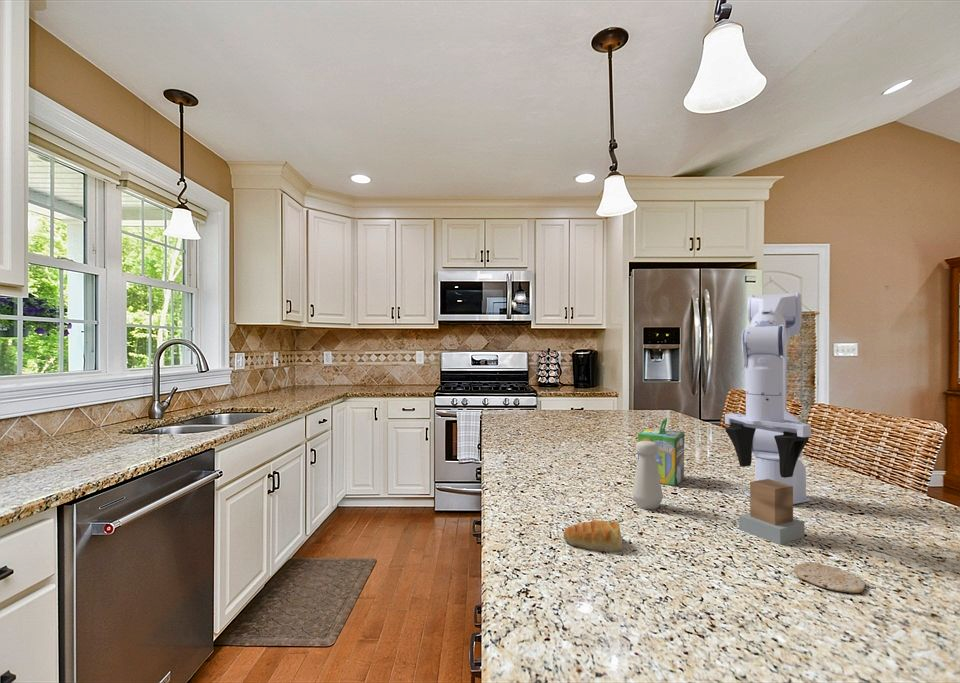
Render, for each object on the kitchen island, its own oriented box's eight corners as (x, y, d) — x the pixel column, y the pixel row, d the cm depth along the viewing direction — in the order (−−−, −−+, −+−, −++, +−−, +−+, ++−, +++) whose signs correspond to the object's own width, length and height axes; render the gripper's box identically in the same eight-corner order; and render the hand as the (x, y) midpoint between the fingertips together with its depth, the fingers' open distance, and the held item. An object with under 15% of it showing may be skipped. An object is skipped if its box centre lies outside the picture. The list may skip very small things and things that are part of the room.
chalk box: (647, 472, 120) (647, 414, 120) (685, 478, 114) (685, 417, 114) (636, 480, 112) (635, 419, 112) (676, 487, 107) (675, 422, 107)
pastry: (564, 551, 73) (564, 527, 74) (562, 534, 80) (562, 512, 80) (625, 554, 72) (625, 529, 72) (617, 537, 79) (617, 514, 79)
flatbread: (782, 574, 66) (782, 567, 66) (813, 563, 69) (813, 556, 69) (847, 602, 59) (847, 594, 59) (879, 588, 62) (879, 581, 62)
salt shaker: (665, 512, 90) (664, 445, 91) (634, 510, 91) (634, 444, 92) (659, 502, 96) (659, 439, 96) (630, 500, 97) (630, 438, 97)
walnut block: (767, 512, 83) (767, 478, 83) (793, 521, 79) (792, 486, 79) (750, 515, 81) (750, 481, 81) (774, 525, 77) (774, 489, 77)
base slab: (763, 525, 85) (763, 509, 85) (804, 539, 79) (804, 521, 79) (739, 532, 82) (738, 515, 82) (780, 547, 75) (780, 529, 75)
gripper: (712, 391, 87) (713, 463, 87) (790, 399, 73) (791, 485, 73) (739, 389, 90) (740, 460, 89) (818, 397, 76) (819, 479, 76)
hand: (765, 471), depth 82 cm, fingers open, 7 cm apart
